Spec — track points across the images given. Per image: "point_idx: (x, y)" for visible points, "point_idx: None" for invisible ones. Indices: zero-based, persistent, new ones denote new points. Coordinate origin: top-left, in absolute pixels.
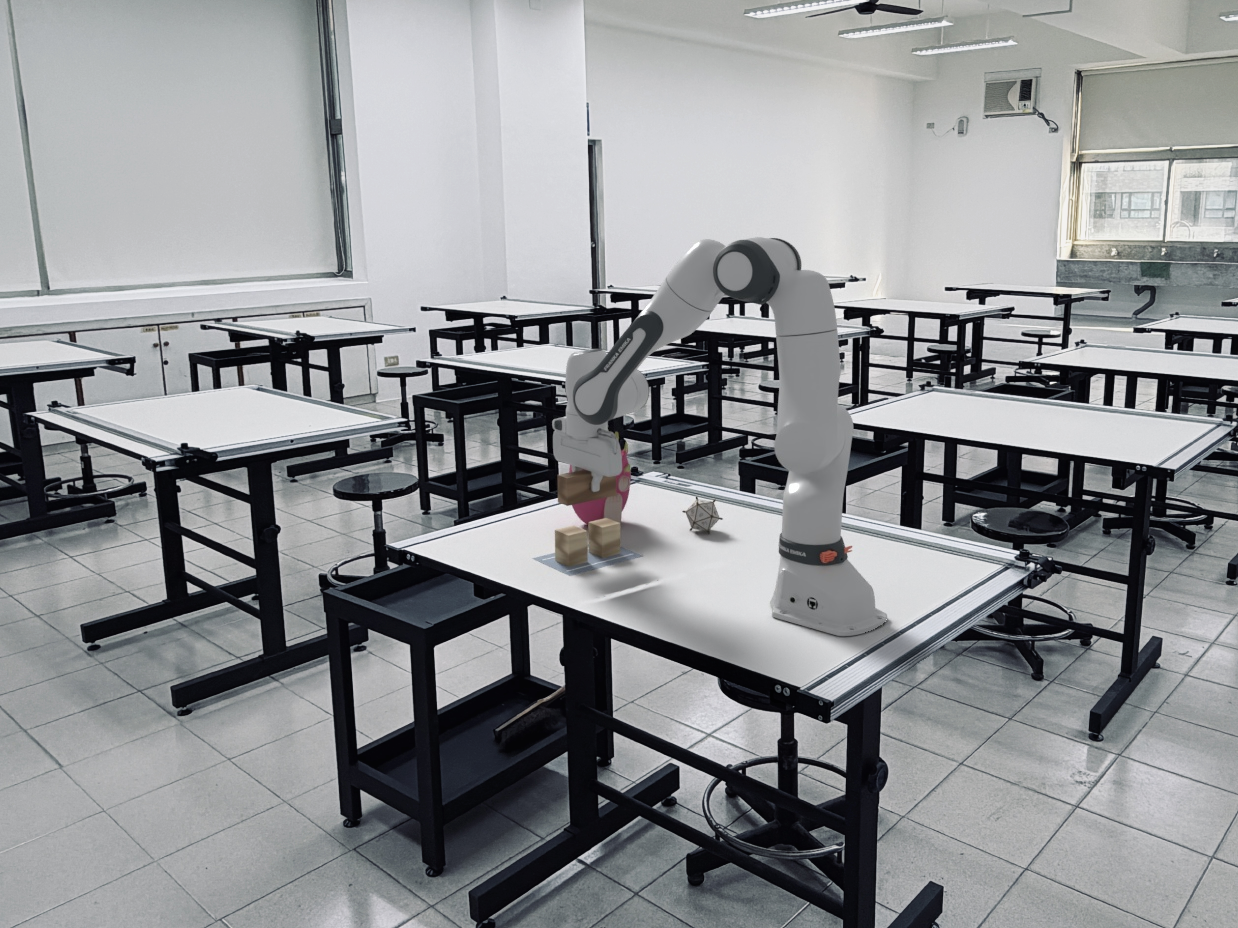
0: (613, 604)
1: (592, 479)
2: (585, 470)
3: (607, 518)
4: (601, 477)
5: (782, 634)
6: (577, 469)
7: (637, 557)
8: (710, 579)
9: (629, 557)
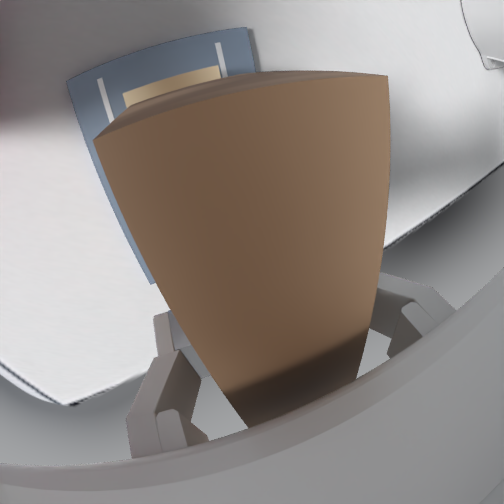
0: (396, 201)
1: (379, 331)
2: (254, 399)
3: (131, 90)
4: (417, 290)
5: (498, 94)
6: (202, 432)
7: (250, 46)
8: (398, 11)
9: (240, 64)
